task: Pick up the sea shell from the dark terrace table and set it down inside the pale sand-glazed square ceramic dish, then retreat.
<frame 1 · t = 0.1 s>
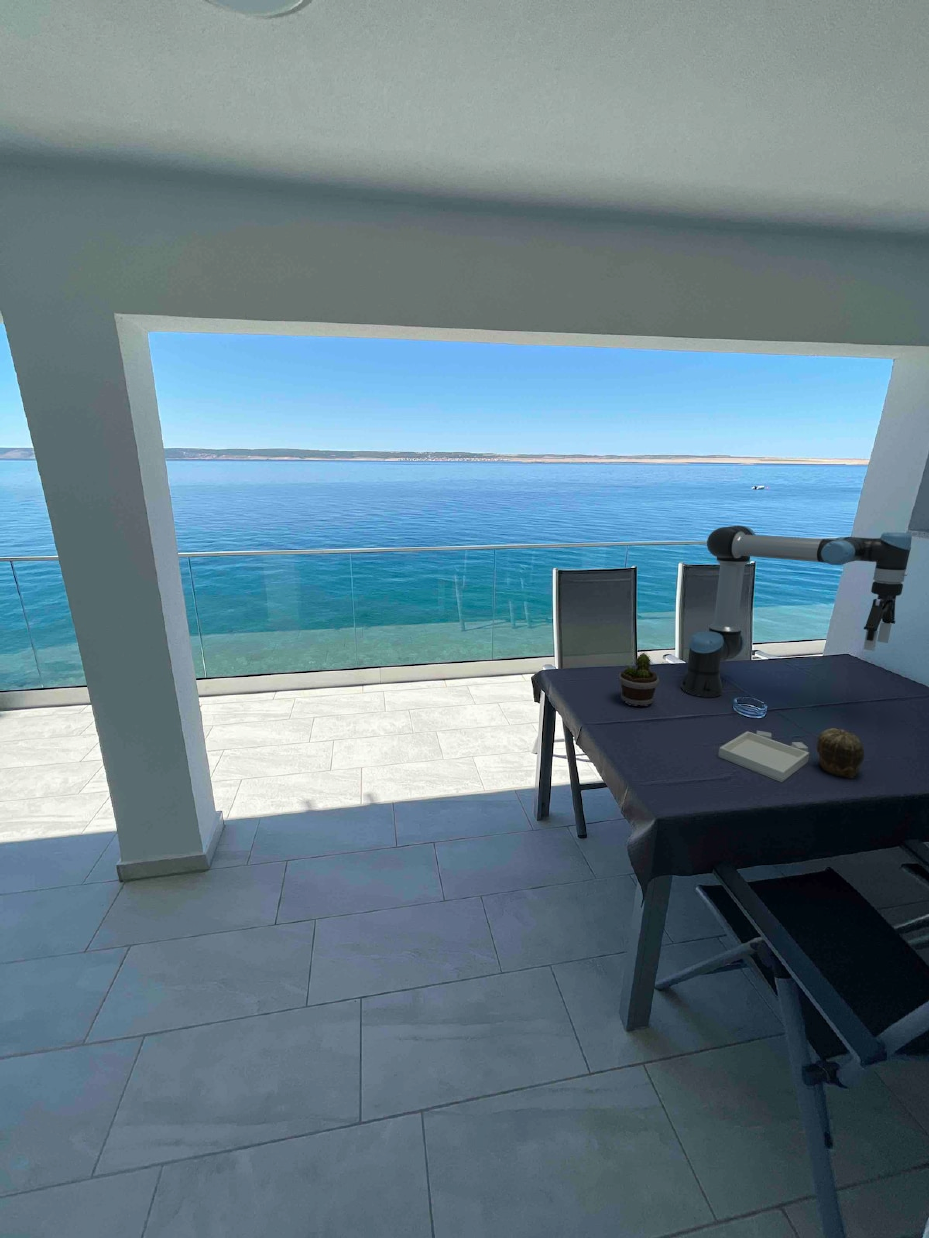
hand: (875, 646, 165), 28 cm above the table, fingers open, 13 cm apart
flowerpot: (636, 702, 192), on the table
pebble a: (763, 740, 162), on the table
pebble b: (798, 751, 155), on the table
dish: (762, 759, 150), on the table
shell: (835, 770, 144), on the table
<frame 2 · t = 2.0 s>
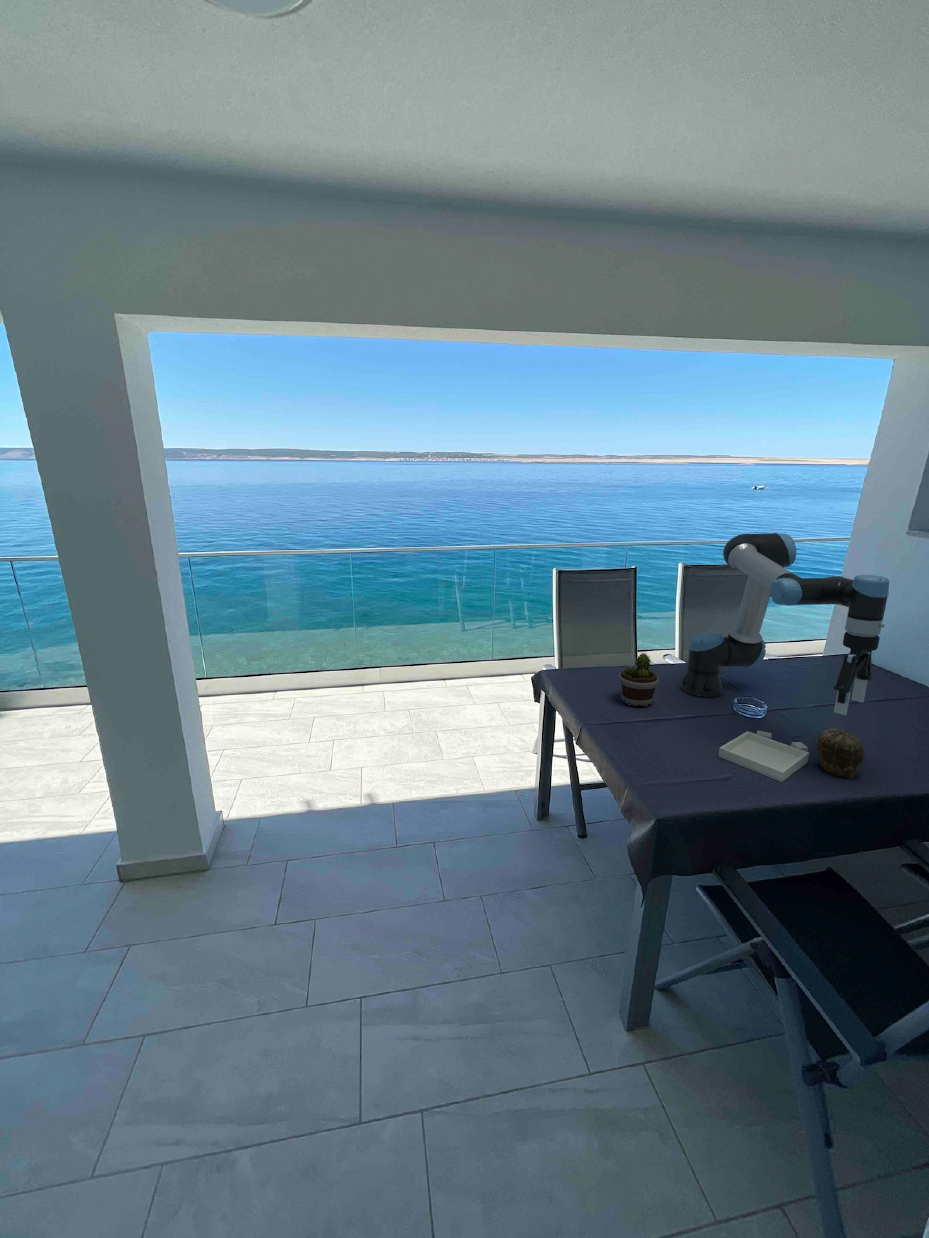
hand: (848, 707, 140), 19 cm above the table, fingers open, 13 cm apart
nothing on the table moved.
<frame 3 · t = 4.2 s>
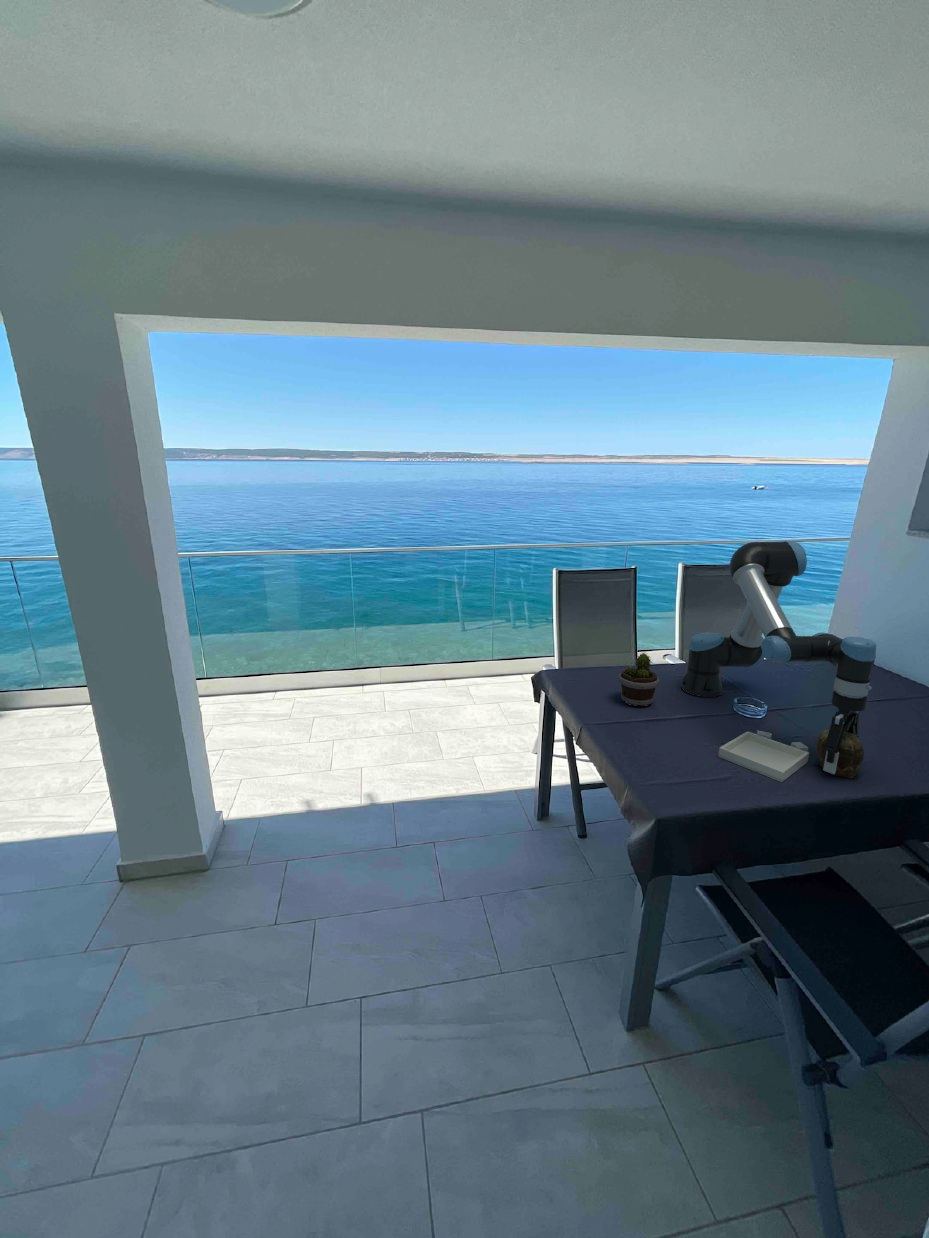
hand: (837, 765, 143), 2 cm above the table, fingers closed on shell, 11 cm apart
shell: (835, 770, 144), on the table, touching gripper
everything else where it was.
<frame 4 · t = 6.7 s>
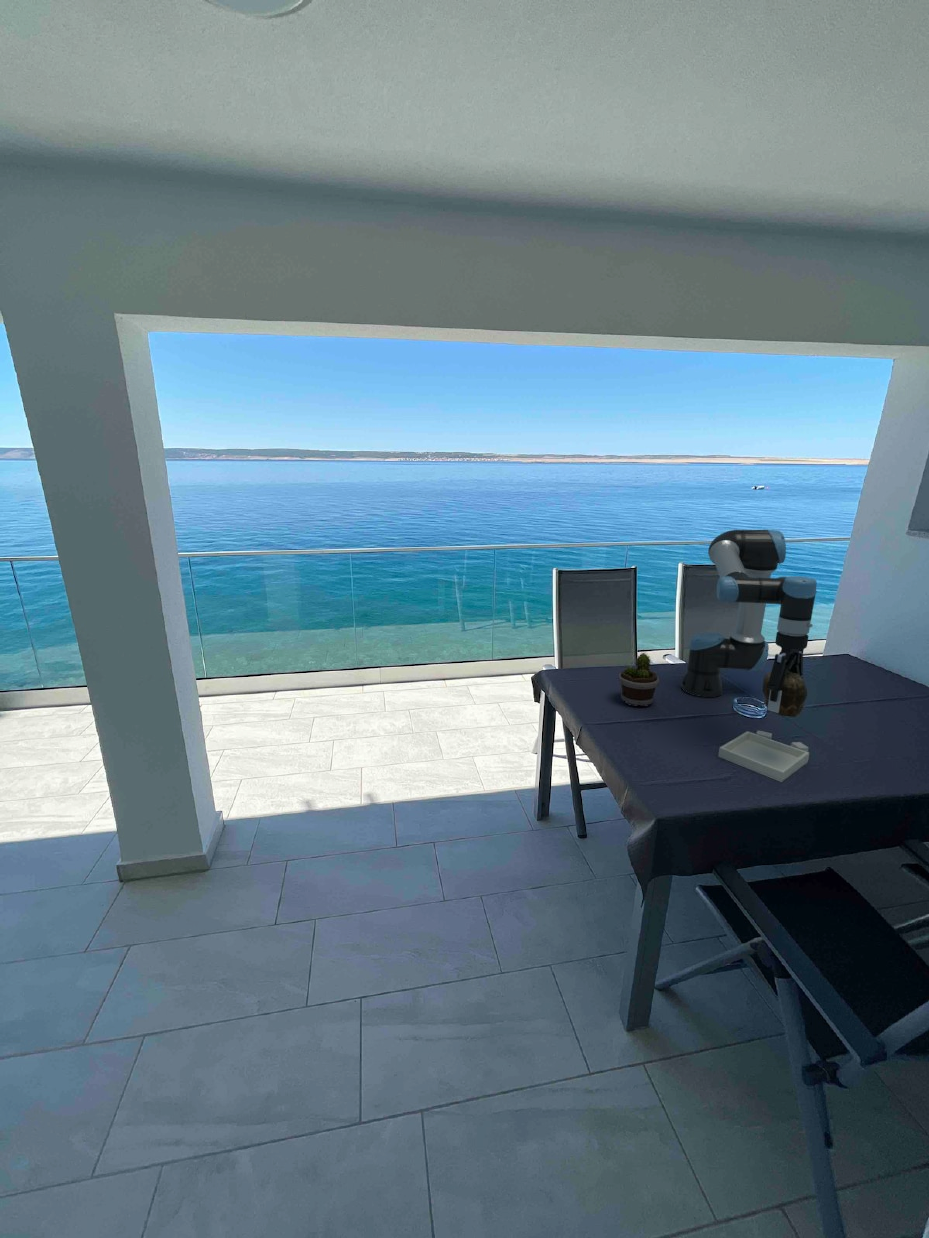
hand: (781, 705, 145), 18 cm above the table, fingers closed on shell, 11 cm apart
shell: (780, 711, 145), point 16 cm above the table, touching gripper
everything else where it was.
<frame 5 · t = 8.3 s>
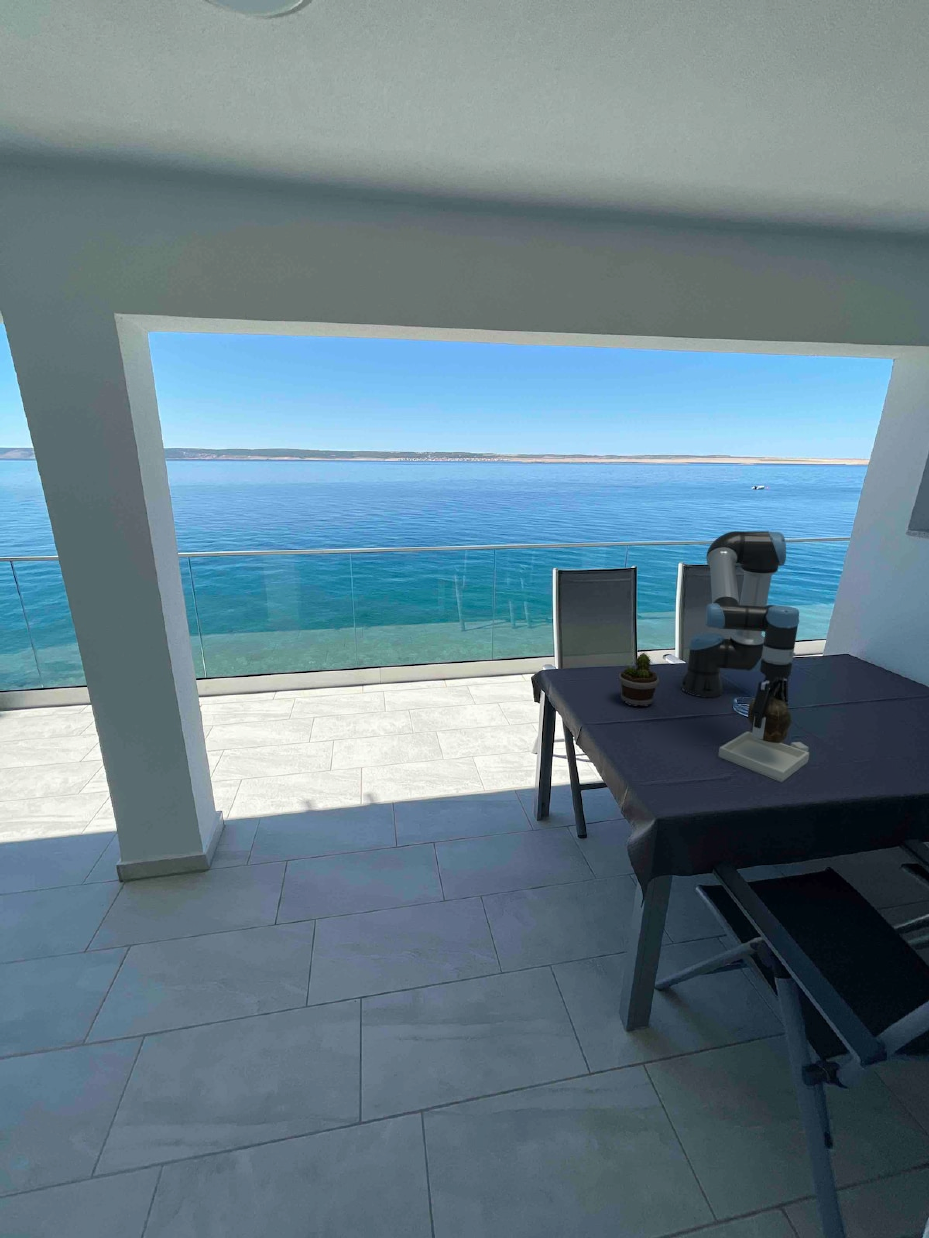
hand: (766, 731, 148), 9 cm above the table, fingers closed on shell, 11 cm apart
shell: (765, 737, 148), point 7 cm above the table, touching gripper
everything else where it was.
when the fingers open (4 cm above the table, at t = 9.6 s): shell drops 2 cm, resting on dish.
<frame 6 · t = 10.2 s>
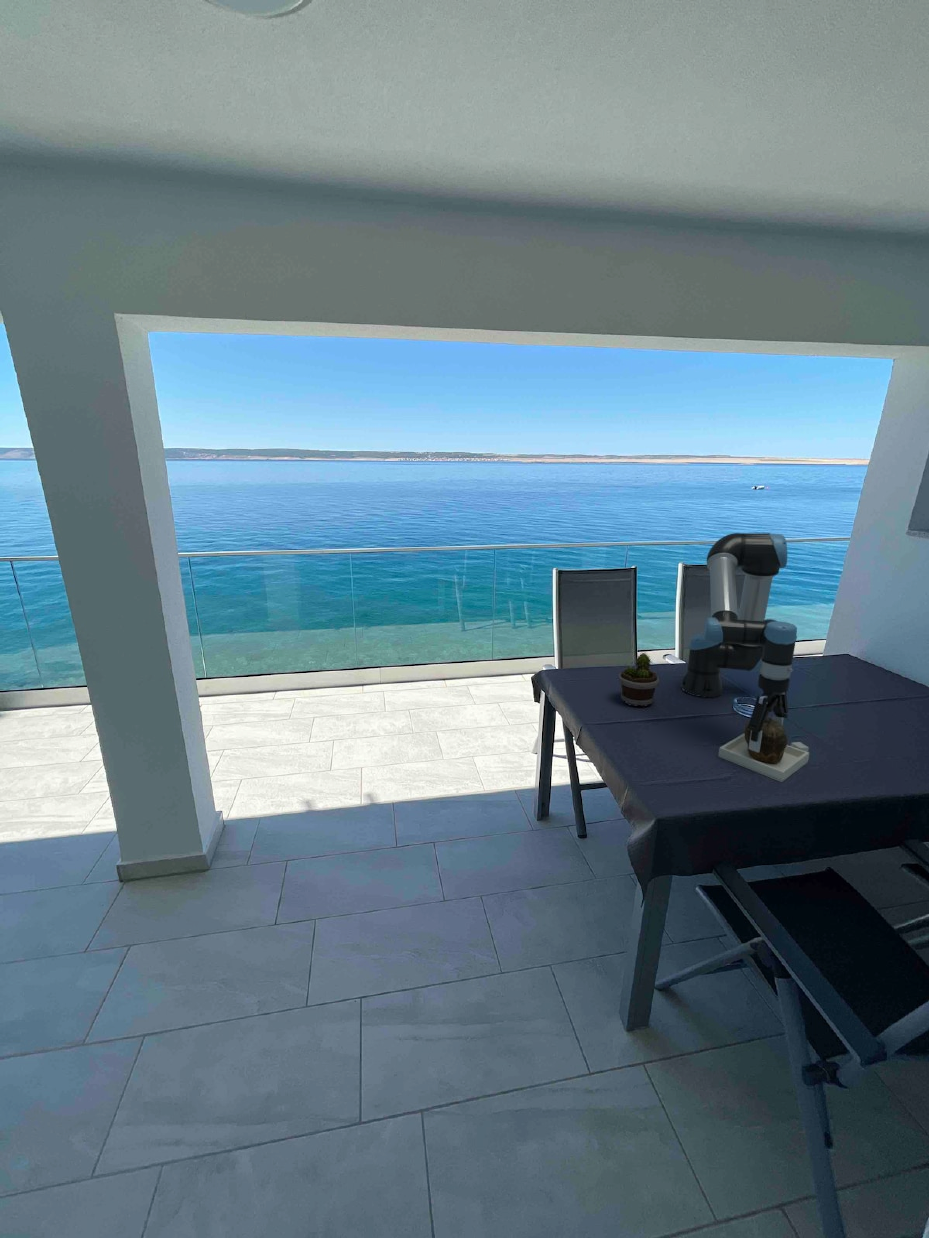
hand: (764, 743, 149), 5 cm above the table, fingers open, 13 cm apart
shell: (762, 757, 150), point 1 cm above the table, touching dish
everything else where it was.
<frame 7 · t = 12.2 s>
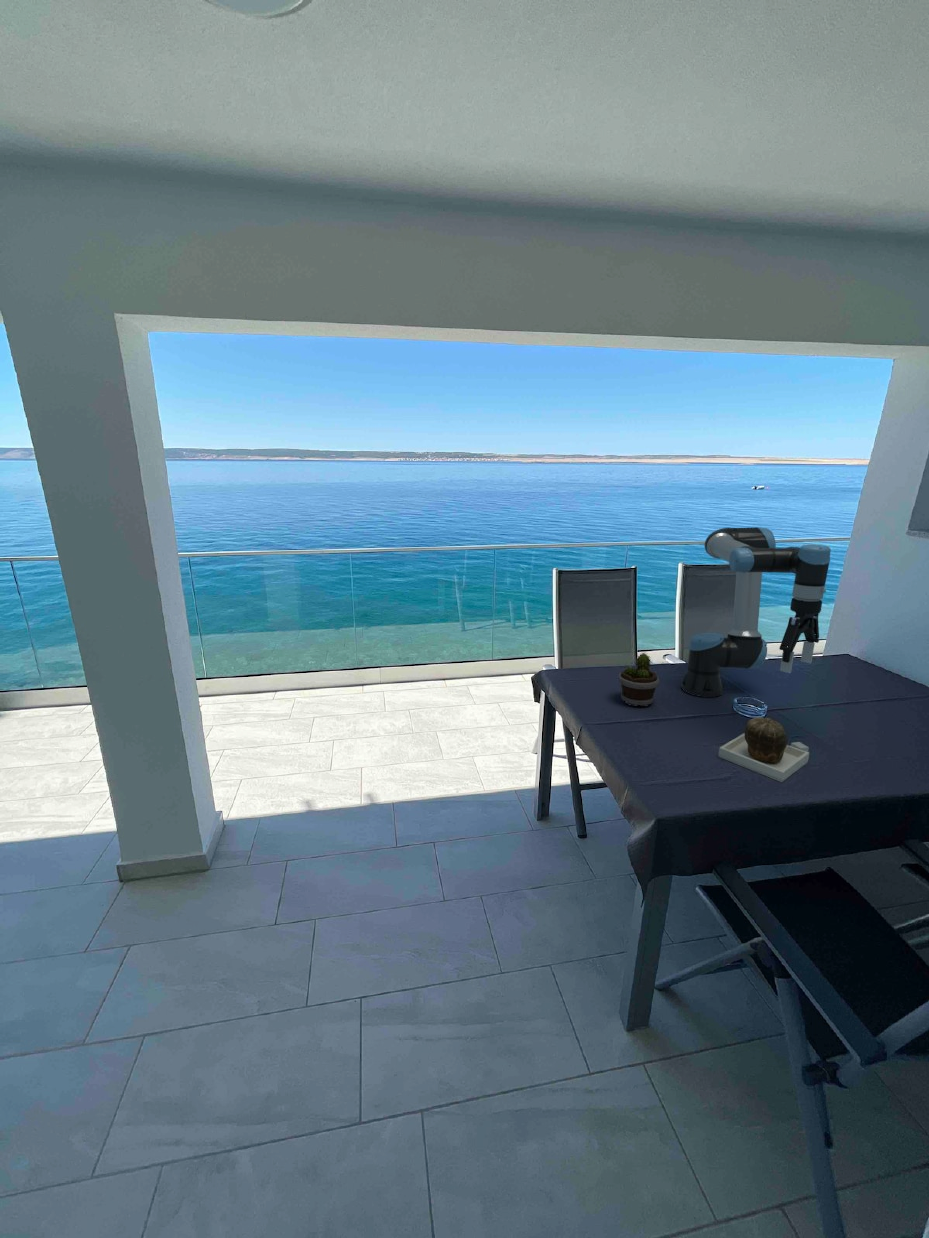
hand: (795, 666, 152), 26 cm above the table, fingers open, 13 cm apart
nothing on the table moved.
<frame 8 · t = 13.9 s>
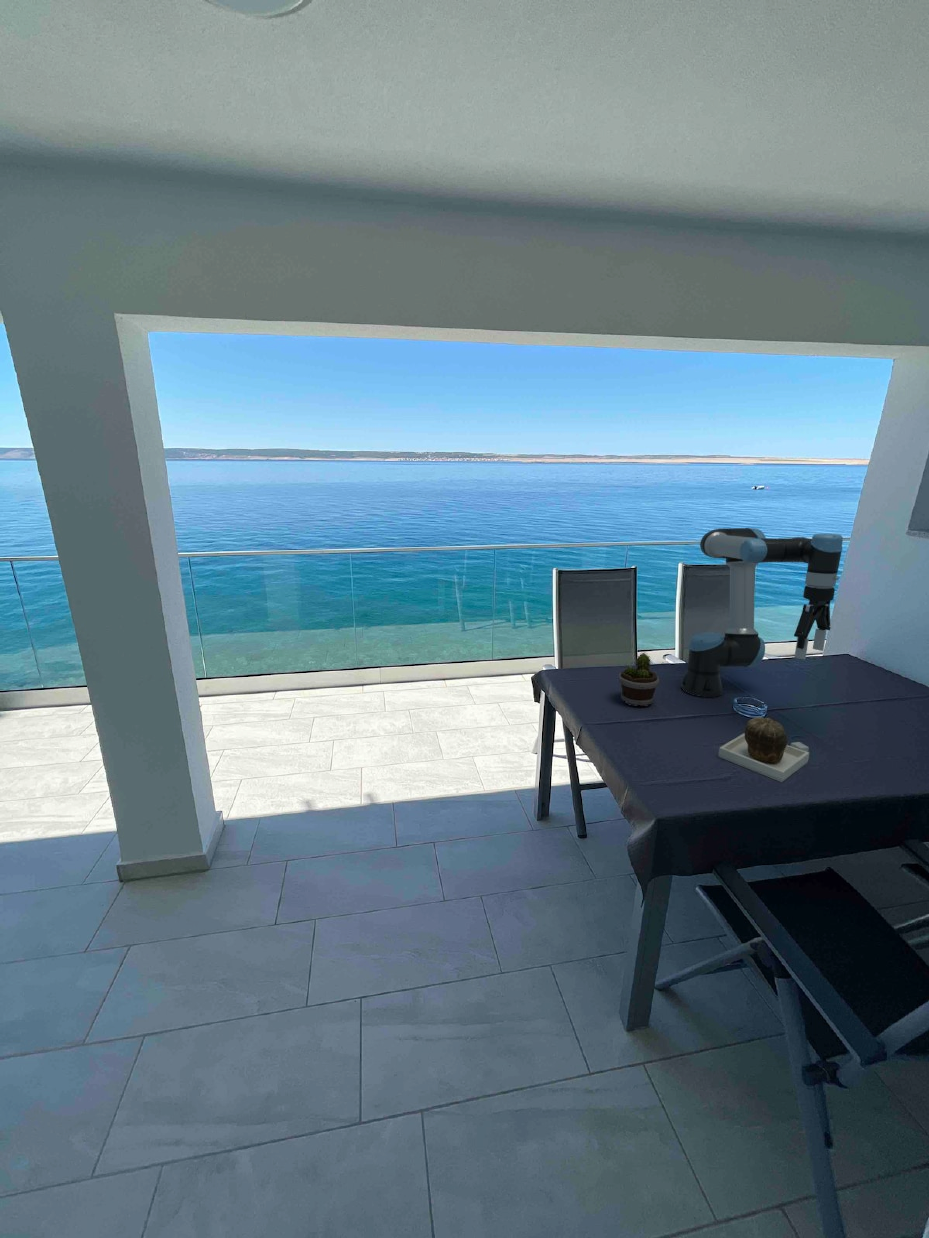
hand: (809, 653, 155), 29 cm above the table, fingers open, 13 cm apart
nothing on the table moved.
at the end: shell inside the target area on the dish (0.3 cm from its centre), point 0.6 cm above the dish's base; the gripper is holding nothing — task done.
